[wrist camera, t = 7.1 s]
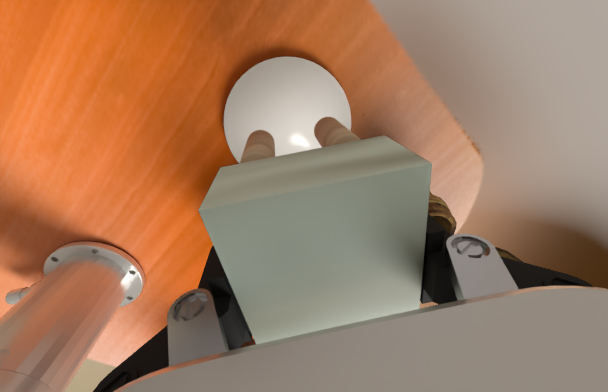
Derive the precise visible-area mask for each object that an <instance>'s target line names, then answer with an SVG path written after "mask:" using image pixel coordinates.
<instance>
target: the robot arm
mask: <svg viewBox="0 0 608 392" xmlns="http://www.w3.org/2000/svg"><path fill="white" fill-rule="evenodd" d="M43 273H44V278H43V279H42V280H41V281H40V282H38V283H35V284H33V285H32V286H31V287H25V288H20V289H15V290H12V291H10V292H9V293H7V295H6V302H7V303H8V304H15V305H14V306H13V307H12V308H11V309H10V310H9V311H8V312H7V313H5V314H4V315H3V316H2V317H1V318H0V392H65V390H66V389H67V387H68V386H69V384H70V383H71V381H72V380H73V378H74V376H75V375H76V373H77V372H78V370H79V369H80V367H81V365H82V364H83V362H84V361H85V359H86V358H87V356H88V354H89V353H90V351H91V350H92V348H93V347H94V345H95V344H96V342H97V340H98V339H99V337H100V336H101V334H102V333H103V331H104V329H105V328H106V326H107V325H108V323H109V322H110V320H111V318H112V317H113V315H114V314H115V312H116V311H117V309H118V307H122V306H125V305H127V304H129V303H131V302H132V301H134V300H135V299H136V298H137V297H138V296H139V295H140V293H141V291H142V289H143V287H144V284H145V276H144V273H143V270H142V269H141V267H140V265H139V264H138V263H137V262H136V261H135V260H134V259H133V258H132V257H131V256H129V255H128V254H127V253H125V252H123V251H122V250H120V249H117V248H115V247H113V246H110V245H106V244H103V243H97V242H84V241H82V242H73V243H70V244H66V245H64V246H62V247H60V248H58V249H57V250H56V251H54V252H53V253H52V254H51V255H50V256H49V257H48V258H47V259H46V261H45V263H44V268H43ZM420 301H421V303H422V304H423V303H428V302H435V303H437V304H438V305H435V306H430V307H425V308H421V309H416V310H411V311H407V312H402V313H397V314H392V315H388V316H383V317H379V318H374V319H369V320H365V321H360V322H355V323H351V324H346V325H342V326H337V327H333V328H328V329H323V330H319V331H314V332H310V333H305V334H301V335H296V336H292V337H287V338H283V339H278V340H274V341H269V342H265V343H261V344H256V345H252V346H247V347H243V348H239V347H240V346H241V345H242V344H243V343H244V342H248V341H252V333H251V331H250V329H249V326H248V324H247V322H246V319H245V317H244V315H243V313H242V310H241V308H240V306H239V303H238V301H237V299H236V296H235V294H234V292H233V289H232V287H231V285H230V282H229V280H228V278H227V276H226V273H225V271H224V269H223V266H222V264H221V262H220V259H219V257H218V255H217V252H216V250H215V248H214V246H212V248H211V250H210V253H209V256H208V259H207V262H206V265H205V268H204V271H203V274H202V277H201V280H200V283H199V286H198V289H194V290H191V291H188V292H187V293H185V294H183V295H182V296H180V297H179V298H178V299H177V300H176V301H175V302H174V303H173V304H172V306H171V307H170V309H169V311H168V316H167V324H168V325H167V326H166V327H165V328H164V329H162V330H161V331H160V332H159V333H158V334H156V335H155V336H154V337H153V338H152V339H150V340H149V341H148V342H147V343H145V344H144V345H143V346H142V347H141V348H139V349H138V350H137V351H136V352H135V353H133V354H132V355H131V356H130V357H129V358H127V359H126V360H125V361H124V362H123V363H121V364H120V365H119V366H118V367H116V368H115V369H114V370H113V371H112V372H111V373H109V374H108V375H107V376H106V377H105V378H104V379H103V380H102V381H101V382H100V383H99V384H98V386H97V387H96V389H95V390H94V391H93V392H608V289H604V288H596V287H593V286H592V285H591V284H589V283H588V282H586V281H583V280H581V279H579V278H577V277H574V276H571V275H568V274H564V273H561V272H557V271H553V270H550V269H546V268H542V267H538V266H534V265H531V264H527V263H523V262H519V261H515V260H512V259H508V258H504V257H500V256H499V254H498V252H497V250H496V249H495V247H494V246H493V245H492V244H491V243H490V242H489V241H487V240H486V239H484V238H481V237H479V236H475V235H472V234H456V235H451V234H450V233H449V232H448V231H447V230H446V229H444V228H443V227H442V226H441V225H440V224H439V223H438V222H437V221H436V220H435V219H434V218H433V217H432V216H430V215H429V214H428V215H427V227H426V238H425V250H424V261H423V272H422V284H421V295H420Z"/></svg>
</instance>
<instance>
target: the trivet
mask: <svg viewBox="0 0 608 392" xmlns="http://www.w3.org/2000/svg"><path fill="white" fill-rule="evenodd" d="M324 117H333V118H335V119H336V120H337V121H339V122H340V123H341V124H342V125H344V126H345V127H346V128H347V129H349V130H350V131H351V112H350V107H349V103H348V100H347V97H346V95H345V93H344V91H343V89H342V87H341V86H340V84H339V83H338V82H337V80H336V79H335V78H334V77H333V76H332V75H331V74H330V73H329V72H328V71H327V70H325V69H324V68H323V67H321V66H319V65H318V64H316V63H314V62H312V61H309V60H306V59H303V58H297V57H276V58H272V59H268V60H265V61H263V62H261V63H258V64H257V65H255V66H253V67H252V68H250V69H249V70H248V71H247V72H245V73H244V74H243V75H242V76H241V77H240V79H239V80H238V81H237V82H236V84H235V85H234V87H233V88H232V90H231V92H230V94H229V97H228V99H227V102H226V106H225V111H224V131H225V136H226V140H227V143H228V146H229V148H230V150H231V152H232V154H233V156H234V157H235V159H236V160H237V162H238V163H239V164H240V161H241V158H242V155H243V152H244V149H245V145H246V142H247V139H248V137H249V135H250V134H251V133H252V132H254V131H256V130H264V131H267V132H269V133H270V134H271V135H272V137H273V139H274V142H275V157H276V156H281V155H286V154H291V153H296V152H301V151H307V150H312V149H317V148H322V147H321V145H320V144H319V142H318V141H317V139H316V137H315V135H314V128H315V125H316V123H317V122H318V121H319V120H320V119H322V118H324Z"/></svg>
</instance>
